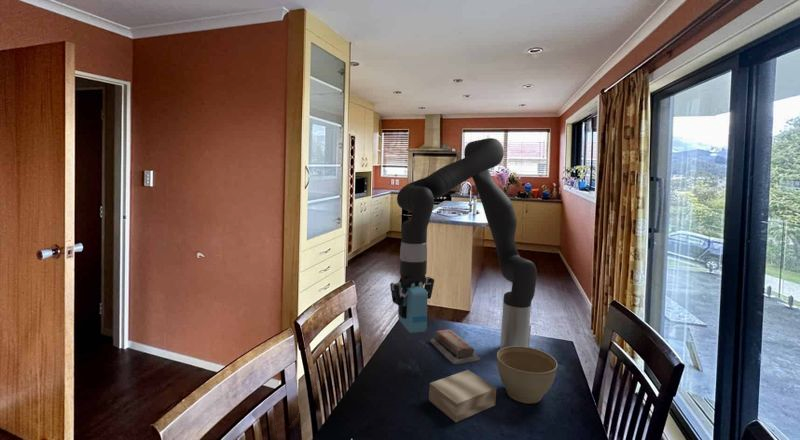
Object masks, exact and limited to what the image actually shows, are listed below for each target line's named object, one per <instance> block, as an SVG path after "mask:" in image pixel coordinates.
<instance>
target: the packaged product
mask: <svg viewBox="0 0 800 440" xmlns="http://www.w3.org/2000/svg"><path fill="white" fill-rule="evenodd" d="M434 334H435V335H434V338H430V343H431V344H432V345H433V346H434V347H435V348H436V349H437V350H438V351H439V352H440V353H441V354H442V355H443V356H444V357H445V358H446V359H447V360H448V361H449V362H450V363H452V364H453V365H460V364H466V363H472V362H477V361H480V360H481V357H479V356H478V355H477V354H476V353H474V352H475V349H474V348H473V347H472V346H471V345H470V344H469V343H467V342H466V341H465V340H464V339H462V338H461V336H459V335H458V334H457V333H455V332H454V330H451V329H448V328H447V329H441V330H440V329H439V330H436V331H435V333H434Z"/></svg>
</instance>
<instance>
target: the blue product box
mask: <svg viewBox="0 0 800 440" xmlns="http://www.w3.org/2000/svg"><path fill="white" fill-rule="evenodd" d="M401 289H402V287H401V286H400V290H399V292H400V291H401ZM404 293H405V294H407V293H408V298H407V304H406V306H407V314H406V318H405V319H403V318H401V317H400V316H399V305H397V306H398V307H397V308H398V310H397V317H398V320H399V322H401V324H402V325H403V326H404V328H405V329H406V330H407V332H408V333H409V334H414V333H415V334H416V333H425V332H426V331H427V326H428V324H427V321H428V320H427V319H428V300H429V299H428V295H427V294H428V293H427V291H426V289H424V286H423V287H422V286H414V288H409V287H408V288H407V292H404Z"/></svg>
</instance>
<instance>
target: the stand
mask: <svg viewBox="0 0 800 440" xmlns="http://www.w3.org/2000/svg"><path fill="white" fill-rule="evenodd" d="M428 388H429V389H428V391H429V392H428V393H429V394H428V402H430V403H432V404H433V405H434V406H435V407H436V408H437V409H438V410H440V411H441V412H442V413H444V414H445V415H446V416H447V417H448V418H450V419H451V420H452V421H453V422H455V423H458V422H460V421H462V420H465V419H467V418H469V417H472V416H474V415H476V414H478V413H481V412H482V411H486V410H487V409H491V408H493V407H495V406H496V399H497V387H496V386H494V385H493V384H491V383H489V382H488V381H486V380H485V379H484V378H481V376H478V375H477V374H475V373H474V372H472V371H470V370H469V369H466V370H463V371H460V372H457V373H454V374H452V375H450V376H445V377H444V378H440V379H438V380H433V381H431V382H430V383H429V387H428Z"/></svg>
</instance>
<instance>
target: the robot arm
mask: <svg viewBox="0 0 800 440" xmlns="http://www.w3.org/2000/svg"><path fill="white" fill-rule="evenodd" d="M504 154H505V152H504V147H503V145H502V142H500V140H499V139H496V138H491V137H487V138H481V139H477V140H474V141H473V140H472V141H470V142H468V143H467V144H466V146H465V147H464V152H463V155H464V157H463V158H460V159H458V160H456V161H454V162H451V163H447V164H446V165H444V166H443V167H440V168H438V169H437V170H435V171H434V172H431V174H429V175H427V176H425V177H423V178H420V179H417V180H415V181H412V182H409V183H408V184H406V185H404V186H402V188H401V189H400V190H399V192H398V193H397V197H396V202H397V205H398V206H399V208H400V209H402V210H403V211H406V212H407V211H408V212H412V213H411V217H410V219H408V220H404V221H403V222H402V225H401V238H400V239H401V240H400V241H401V242H400V247H399V248H400V250H399V253H400V254H399V274H400V277H399V281H397V282H390V285H389V286H390V293H391V301H392V303H393V304H395V305H397V306H398V305H399V316H400V317H401V318H403V319H405V318H406V314H407V306H406V304H407V298H408V293H407V294H405V293H404V292H407V288H408V287H409V288H414V286H422V287H423V288H424V289H426V291H427V295H428V299H427V300H429V299H431V298H432V295H433V289H434V284H435V279H434V278H432V277H430V276H426V275H427V267H428V265H427V264H428V246H427V241H428V226H429V224H430V219H431V216H432V213H433V208H434V206H435V205H434V204H435V199H439V198H442V197H443V196H444V195H446V194H448V193H449V192H451V191H453V190H454V189H455V188H457V187H458V186H460V185H461V184H462V183H464V182H466V181H468V180H469V179H472V180H473V182H474V185H475V187H476V190H477V193H478V196H479V199H480V202H481V205H482V209H483V212H484V215H485V218H486V221H487V224H488V227H489V230H490V232H491V236H492V240H493V243H494V244H495V248H496V253H497V258H498V263H499V268H500V272H501V275H502V277H503V278H505V279H506V281H508V282H510V283H511V290H510V291H507V292H505V293H504V294H503V298H502V299H503V302H502V313H501V314H502V315H501V331H500V342H499V343H500V344H499V350H500V349H502V348H505V347H510V346H523V347H530V342H531V329H532V325H531V324H530V323H531V322H530V321H531V309H532V308H531V307H532V301H533V298H534V296H535V292H536V285H537V277H538V271H537V270H538V269H537V267H536V264H535V262H533V261H531V260H529V259H527V258H524V257H521V255H520V254H519V251H518V249H517V248H518V247H517V246H516V242H515V237H516V231H517V222H518V221H517V217H516V213H515V210H514V206H513V203H512V200H511V199H510V197H508V195H507V194H506V193H505V192H504V191H503V190H502V189H501V188H500V187H499V186H498V185H497V183H496V182H495V181H494V179H493V177H492V174H491V172H490V170H489V169H493V168H495V167H498V166H499V165H500V164H501V162H502V161H503V159H504V156H505V155H504ZM400 286H401V287H402V289H401V291H400V292H399V290H400Z"/></svg>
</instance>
